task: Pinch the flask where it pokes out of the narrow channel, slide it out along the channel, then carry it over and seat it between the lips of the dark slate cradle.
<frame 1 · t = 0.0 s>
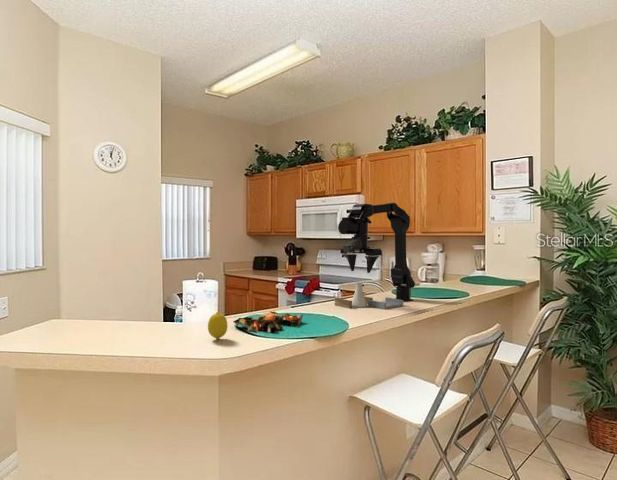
hand: (360, 272, 166), 15 cm above the countertop, tool pointing down, fingers open, 9 cm apart
lemon: (217, 340, 116), on the countertop
flask: (358, 306, 169), on the countertop
food: (268, 326, 135), on the countertop
cradle: (385, 305, 170), on the countertop
channel: (353, 304, 171), on the countertop
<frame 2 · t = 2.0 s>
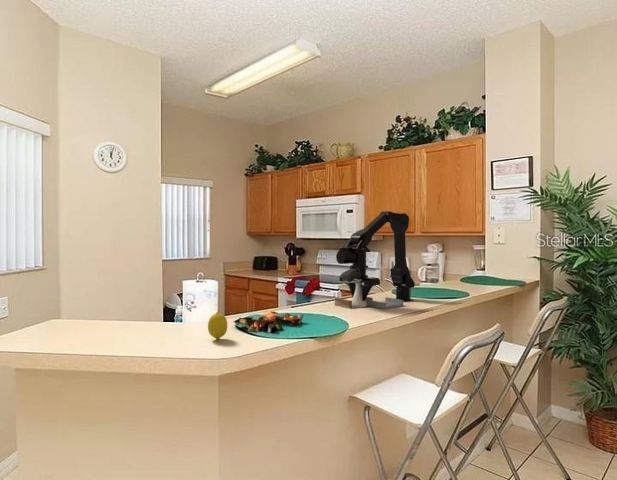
hand: (358, 300, 169), 3 cm above the countertop, tool pointing down, fingers closed on flask, 5 cm apart
flask: (358, 306, 169), on the countertop, touching gripper
everything else where it was.
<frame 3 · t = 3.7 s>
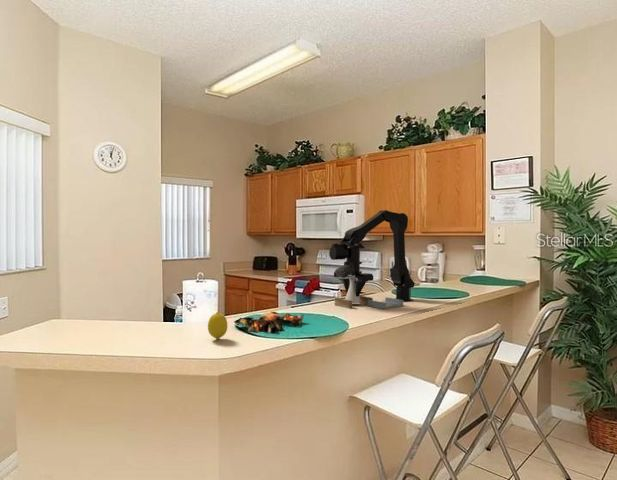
hand: (352, 295, 172), 4 cm above the countertop, tool pointing down, fingers closed on flask, 5 cm apart
flask: (352, 302, 172), point 1 cm above the countertop, touching gripper
everything else where it was.
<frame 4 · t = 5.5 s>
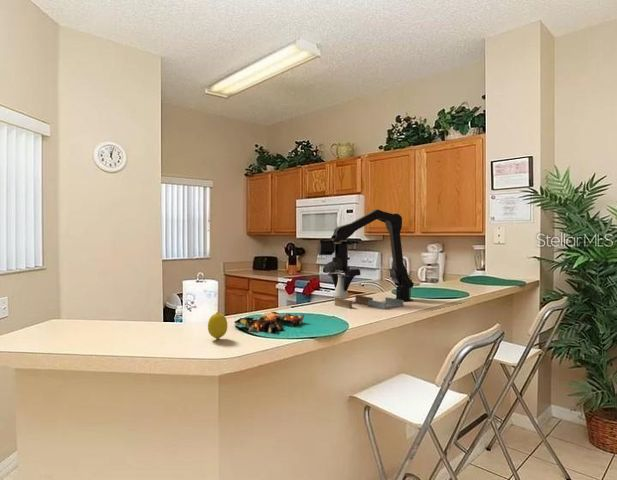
hand: (341, 290, 177), 5 cm above the countertop, tool pointing down, fingers closed on flask, 5 cm apart
flask: (341, 297, 177), point 2 cm above the countertop, touching gripper
everything else where it was.
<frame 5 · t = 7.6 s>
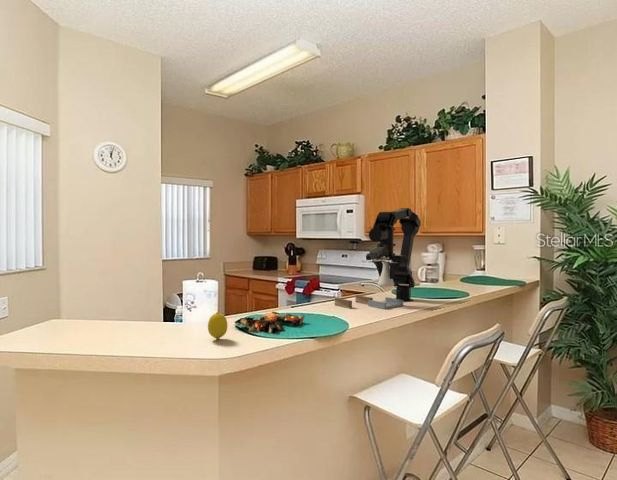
hand: (386, 278, 169), 12 cm above the countertop, tool pointing down, fingers closed on flask, 5 cm apart
flask: (385, 286, 169), point 8 cm above the countertop, touching gripper
everything else where it was.
when the fingers open (5 cm above the countertop, at t = 9.1 s): flask stays where it is, resting on cradle.
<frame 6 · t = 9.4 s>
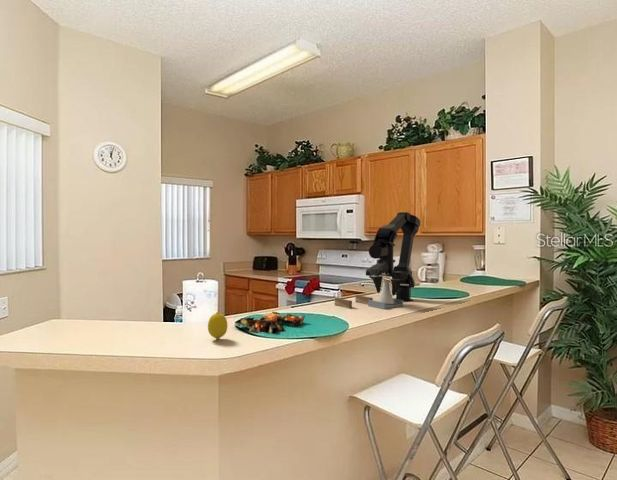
hand: (385, 294, 170), 5 cm above the countertop, tool pointing down, fingers open, 8 cm apart
flask: (385, 304, 170), point 1 cm above the countertop, touching cradle
everything else where it was.
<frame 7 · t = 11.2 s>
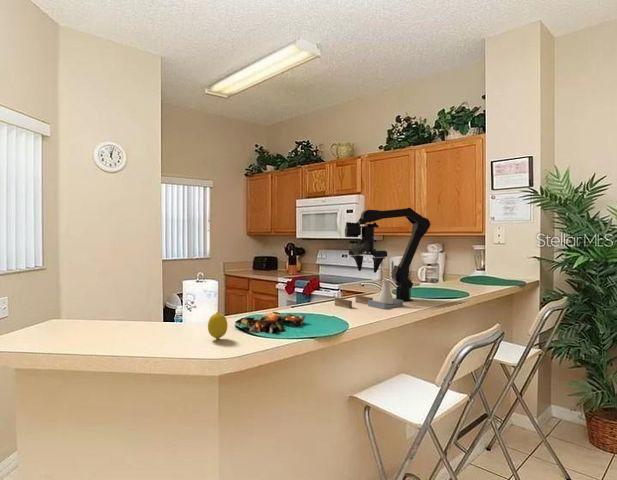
hand: (367, 271, 182), 13 cm above the countertop, tool pointing down, fingers open, 9 cm apart
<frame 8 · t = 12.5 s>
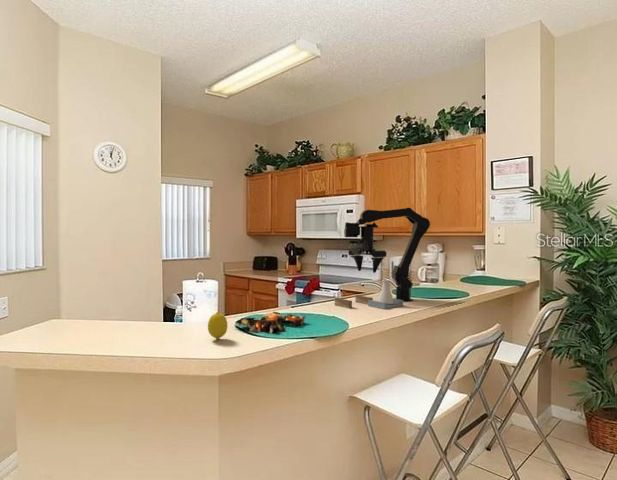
hand: (366, 271, 183), 13 cm above the countertop, tool pointing down, fingers open, 9 cm apart
at the end: flask 0.0 cm from the cradle (horizontally); flask tilted 0°; the gripper is holding nothing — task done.
